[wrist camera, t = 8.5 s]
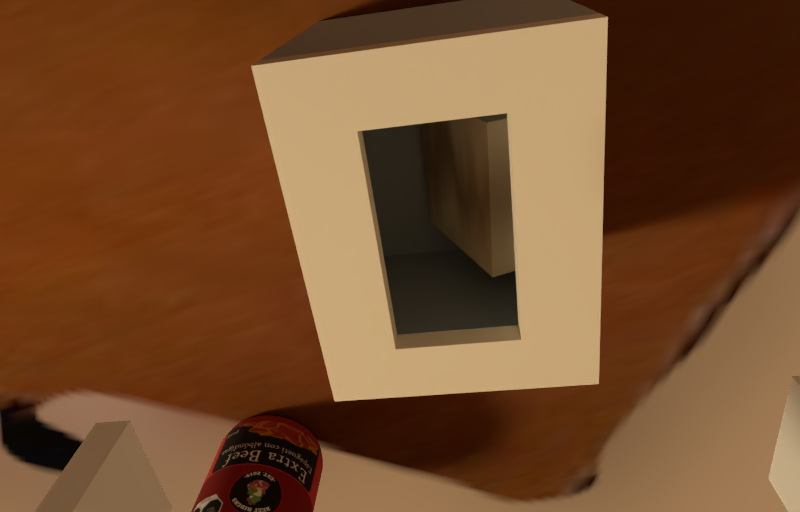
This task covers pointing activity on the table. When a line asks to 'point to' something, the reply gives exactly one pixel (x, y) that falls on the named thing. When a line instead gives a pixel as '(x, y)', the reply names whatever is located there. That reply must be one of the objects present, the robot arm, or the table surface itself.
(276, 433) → the canned food
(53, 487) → the robot arm
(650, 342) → the table surface
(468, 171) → the block
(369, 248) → the box
